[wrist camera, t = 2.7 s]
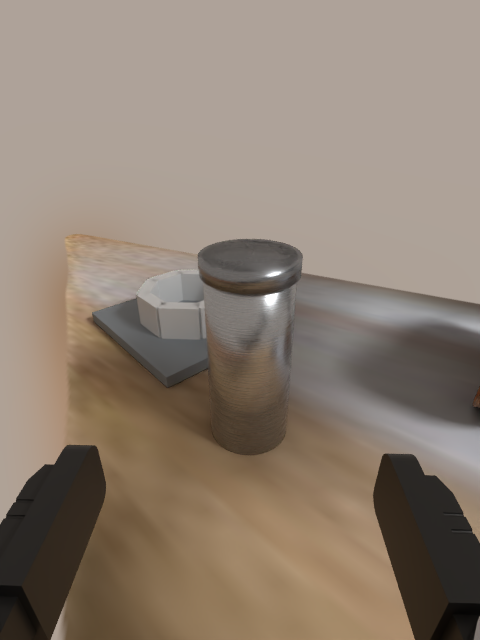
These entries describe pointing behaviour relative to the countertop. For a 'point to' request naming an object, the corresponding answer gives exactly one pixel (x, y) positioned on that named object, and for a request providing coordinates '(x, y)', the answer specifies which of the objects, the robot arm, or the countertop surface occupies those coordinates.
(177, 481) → the countertop surface
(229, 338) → the silver metal canister
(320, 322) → the countertop surface
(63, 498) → the robot arm
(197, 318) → the collar
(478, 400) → the tin
